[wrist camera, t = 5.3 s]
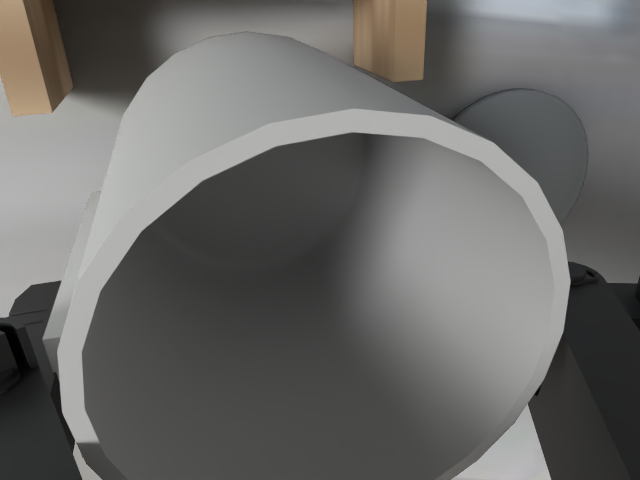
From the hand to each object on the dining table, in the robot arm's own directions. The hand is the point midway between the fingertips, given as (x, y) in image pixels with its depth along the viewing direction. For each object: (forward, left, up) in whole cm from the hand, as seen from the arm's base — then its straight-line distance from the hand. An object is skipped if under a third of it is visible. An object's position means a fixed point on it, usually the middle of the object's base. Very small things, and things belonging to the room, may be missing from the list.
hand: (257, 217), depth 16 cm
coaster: (+2, +12, -6) cm, 13 cm away
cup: (0, 0, 0) cm, 1 cm away
